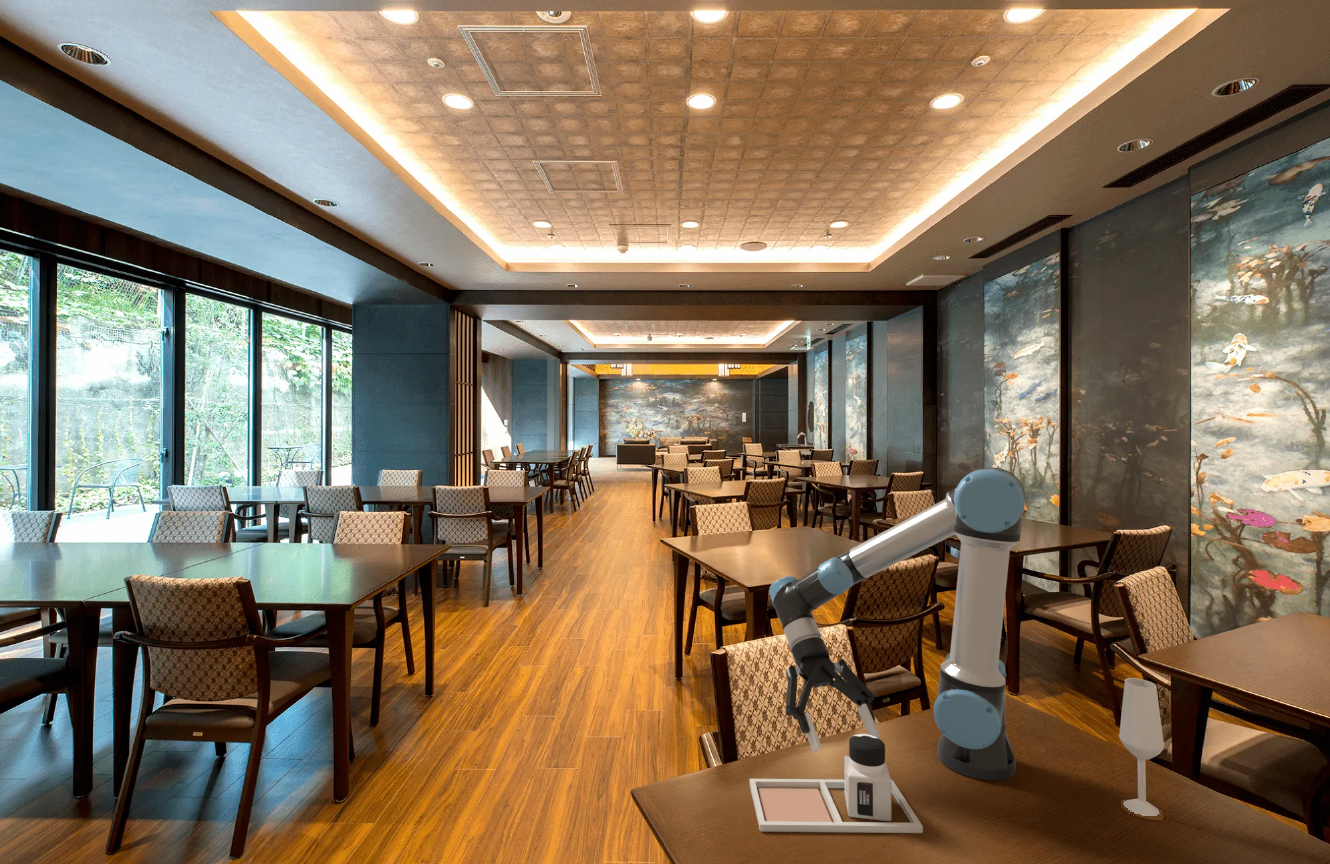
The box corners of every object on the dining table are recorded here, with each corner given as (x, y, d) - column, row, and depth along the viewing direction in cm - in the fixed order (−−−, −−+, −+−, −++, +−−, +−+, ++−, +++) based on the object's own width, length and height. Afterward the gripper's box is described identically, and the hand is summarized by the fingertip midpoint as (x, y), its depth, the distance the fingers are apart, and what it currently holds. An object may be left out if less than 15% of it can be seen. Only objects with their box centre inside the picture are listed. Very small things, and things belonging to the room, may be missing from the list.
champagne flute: (1167, 825, 111) (1165, 692, 111) (1121, 813, 115) (1120, 684, 115) (1162, 806, 117) (1160, 680, 117) (1118, 795, 120) (1117, 673, 121)
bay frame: (892, 785, 124) (892, 779, 124) (922, 832, 109) (922, 826, 109) (749, 784, 124) (749, 778, 124) (760, 831, 109) (760, 824, 109)
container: (891, 822, 112) (891, 750, 112) (848, 817, 113) (847, 746, 114) (885, 798, 119) (885, 731, 120) (844, 793, 121) (844, 727, 121)
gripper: (847, 646, 142) (890, 741, 127) (750, 657, 134) (784, 760, 119) (861, 630, 137) (907, 727, 122) (761, 641, 129) (798, 746, 114)
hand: (847, 744), depth 121 cm, fingers open, 13 cm apart
